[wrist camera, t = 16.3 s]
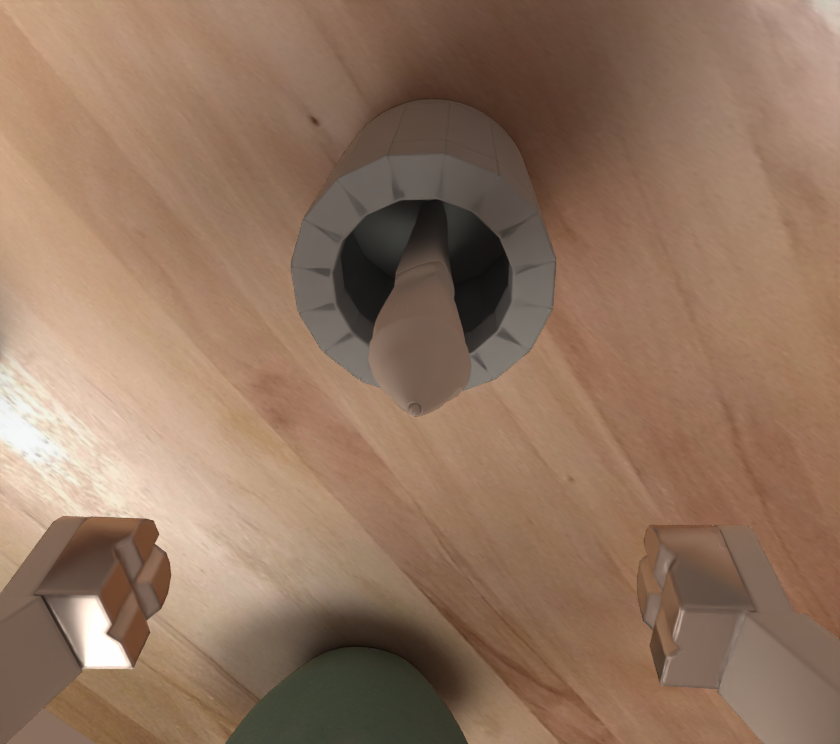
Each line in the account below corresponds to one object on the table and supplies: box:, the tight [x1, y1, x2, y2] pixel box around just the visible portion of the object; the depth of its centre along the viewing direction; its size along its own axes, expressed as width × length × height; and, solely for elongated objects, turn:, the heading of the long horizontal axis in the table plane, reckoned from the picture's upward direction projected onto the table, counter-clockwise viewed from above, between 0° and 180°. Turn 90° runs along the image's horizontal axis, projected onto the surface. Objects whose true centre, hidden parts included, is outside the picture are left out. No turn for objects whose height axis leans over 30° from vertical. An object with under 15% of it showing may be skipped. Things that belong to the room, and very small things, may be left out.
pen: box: [368, 199, 472, 417], centre depth 20 cm, size 2×3×14 cm
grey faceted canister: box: [291, 99, 556, 391], centre depth 23 cm, size 8×8×8 cm
